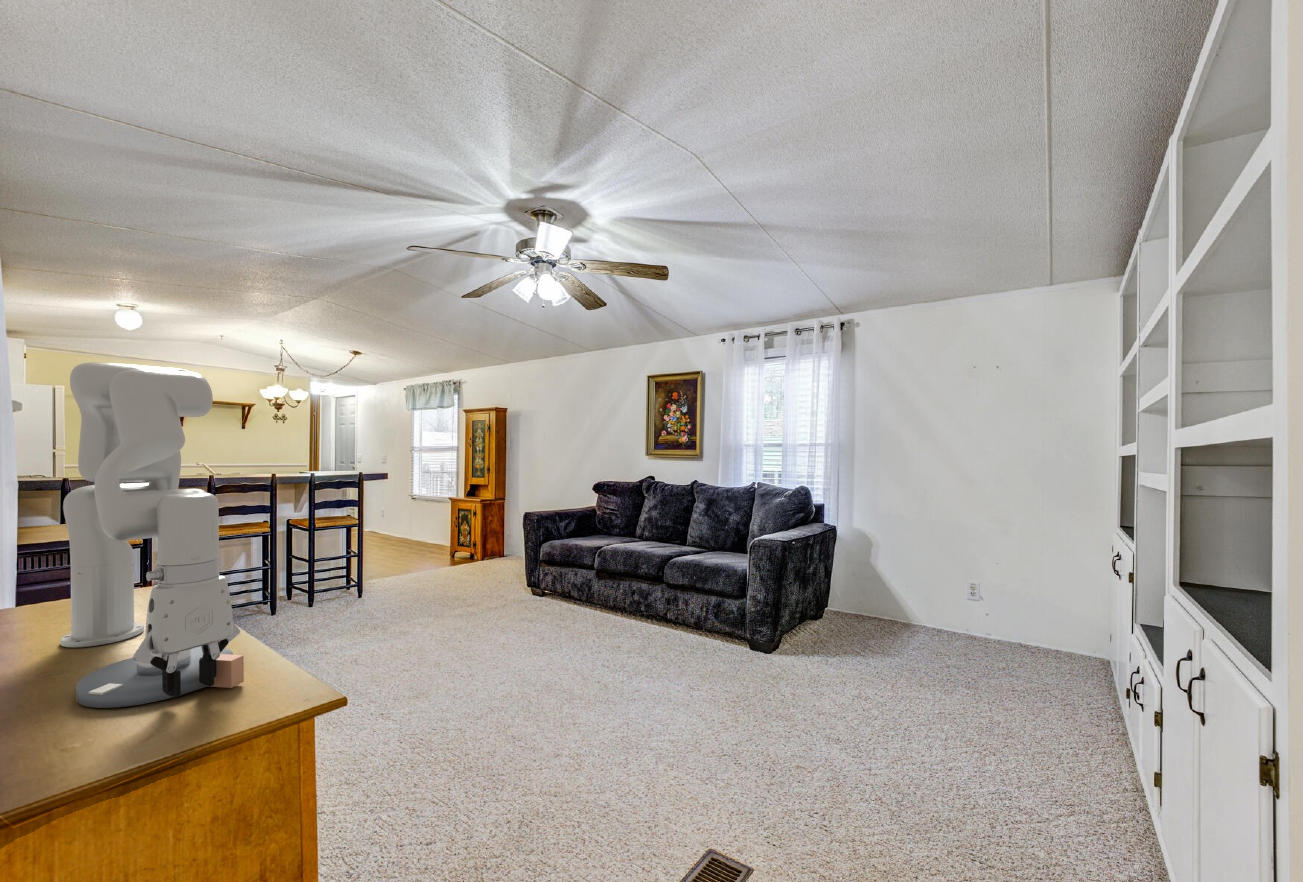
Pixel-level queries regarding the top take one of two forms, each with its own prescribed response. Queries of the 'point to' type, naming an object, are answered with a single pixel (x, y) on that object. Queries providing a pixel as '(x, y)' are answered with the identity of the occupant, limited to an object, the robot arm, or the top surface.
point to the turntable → (151, 681)
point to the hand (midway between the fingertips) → (190, 688)
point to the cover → (151, 670)
